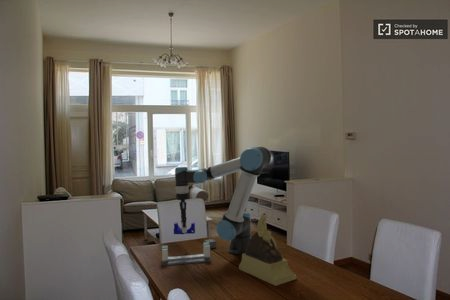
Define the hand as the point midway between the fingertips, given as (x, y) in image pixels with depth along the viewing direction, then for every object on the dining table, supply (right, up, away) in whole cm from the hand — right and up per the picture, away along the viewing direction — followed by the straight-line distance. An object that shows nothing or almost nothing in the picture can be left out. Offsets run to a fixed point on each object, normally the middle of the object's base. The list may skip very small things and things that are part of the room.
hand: (184, 231), depth 231 cm
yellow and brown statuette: (+45, -12, -41) cm, 62 cm away
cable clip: (0, -1, 0) cm, 1 cm away
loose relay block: (+15, -11, +8) cm, 21 cm away
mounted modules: (+3, -11, -16) cm, 20 cm away
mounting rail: (+3, -13, -16) cm, 21 cm away
